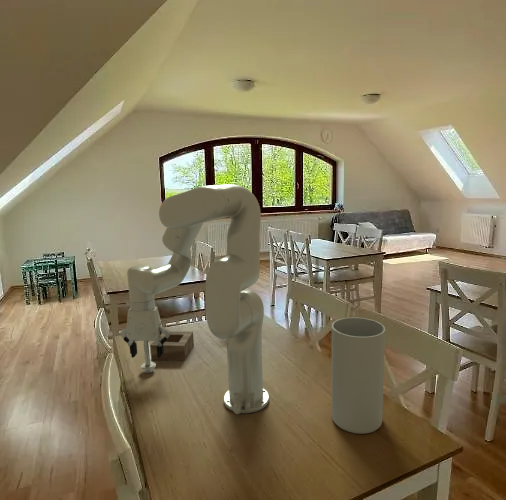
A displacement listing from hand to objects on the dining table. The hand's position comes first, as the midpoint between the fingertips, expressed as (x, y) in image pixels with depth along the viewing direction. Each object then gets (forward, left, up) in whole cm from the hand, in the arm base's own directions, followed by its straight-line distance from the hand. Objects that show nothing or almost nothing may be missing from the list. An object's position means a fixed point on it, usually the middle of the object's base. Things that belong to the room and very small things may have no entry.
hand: (147, 355), depth 125 cm
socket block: (+14, -4, -6) cm, 16 cm away
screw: (0, 0, -6) cm, 6 cm away
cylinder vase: (-22, -63, -6) cm, 67 cm away
